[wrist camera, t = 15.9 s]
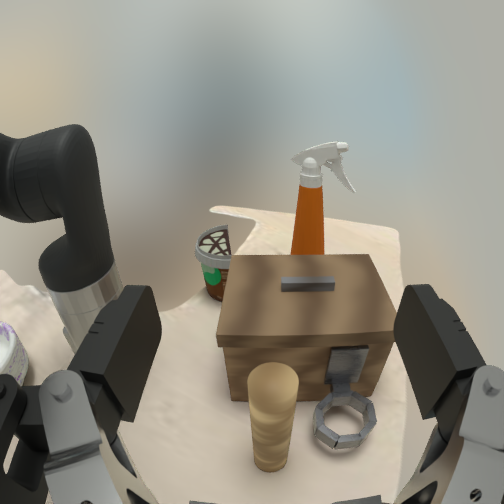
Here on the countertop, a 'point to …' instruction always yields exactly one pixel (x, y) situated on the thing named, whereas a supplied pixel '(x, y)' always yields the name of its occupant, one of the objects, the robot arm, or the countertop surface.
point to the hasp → (344, 396)
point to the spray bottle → (315, 196)
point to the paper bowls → (12, 354)
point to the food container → (214, 259)
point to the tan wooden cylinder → (272, 413)
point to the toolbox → (303, 318)
